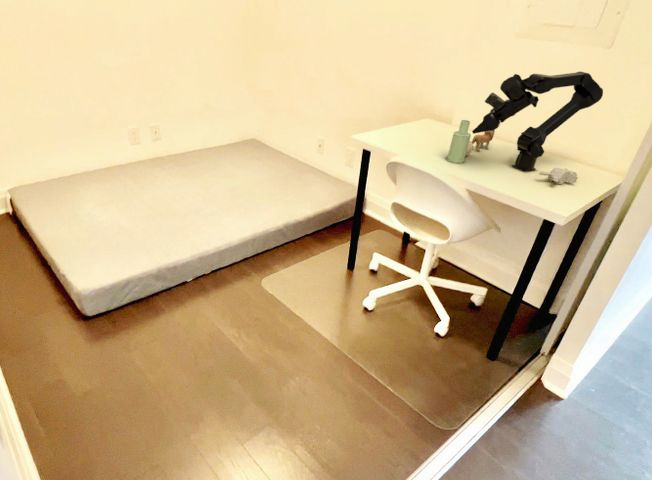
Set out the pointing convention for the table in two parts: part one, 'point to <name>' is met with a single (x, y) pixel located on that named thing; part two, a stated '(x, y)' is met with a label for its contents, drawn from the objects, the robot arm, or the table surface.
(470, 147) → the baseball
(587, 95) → the robot arm
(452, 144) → the bottle
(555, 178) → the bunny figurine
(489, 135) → the lion figurine
